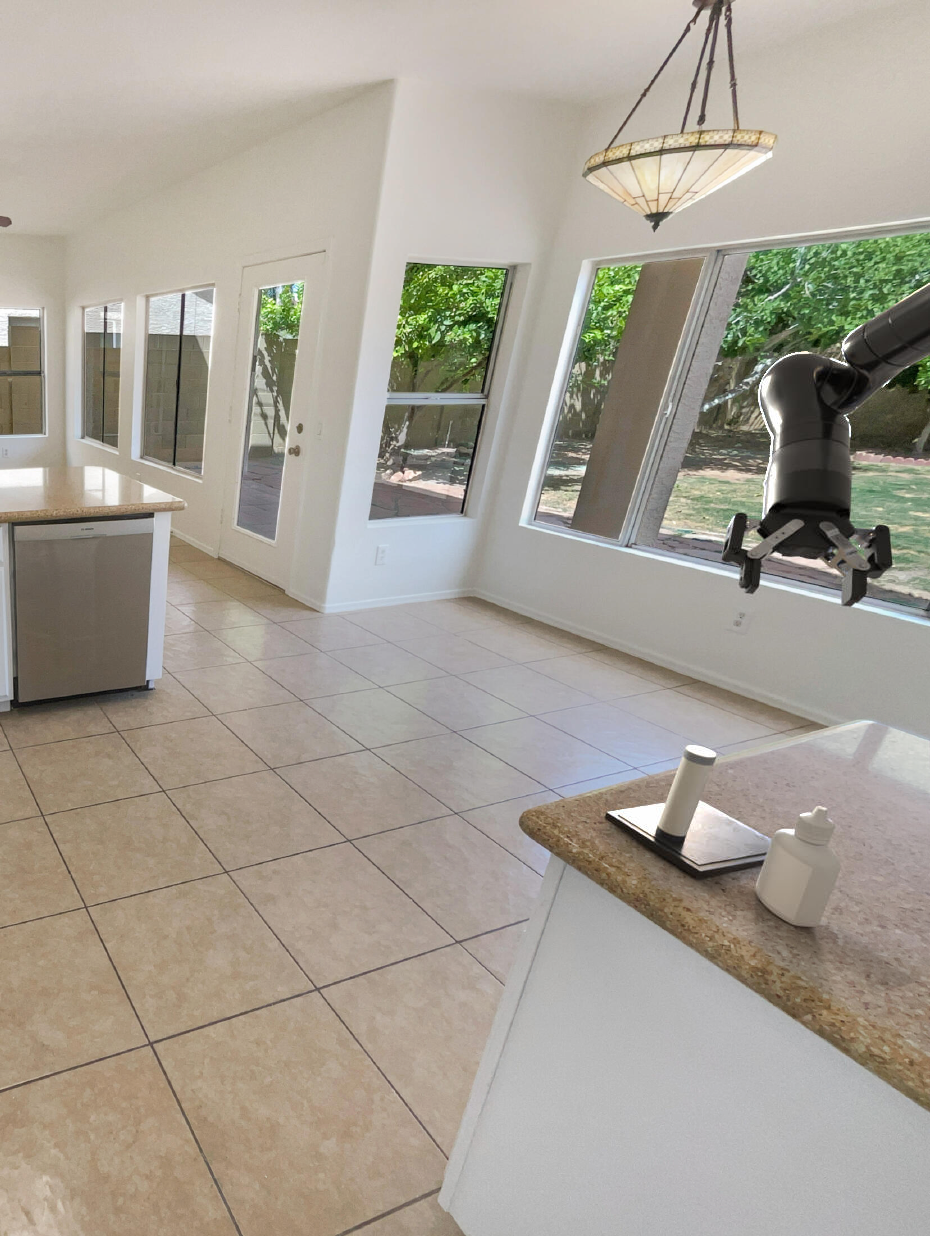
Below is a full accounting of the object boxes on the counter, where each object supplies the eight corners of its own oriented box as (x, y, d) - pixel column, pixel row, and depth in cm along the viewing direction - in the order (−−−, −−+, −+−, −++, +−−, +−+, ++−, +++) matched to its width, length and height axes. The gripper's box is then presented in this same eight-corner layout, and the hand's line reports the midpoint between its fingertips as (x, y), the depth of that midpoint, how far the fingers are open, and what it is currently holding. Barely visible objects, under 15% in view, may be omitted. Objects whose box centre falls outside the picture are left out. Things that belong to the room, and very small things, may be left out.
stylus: (667, 826, 81) (698, 743, 77) (690, 840, 79) (723, 755, 75) (649, 829, 80) (679, 746, 77) (672, 843, 78) (704, 758, 74)
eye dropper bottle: (757, 916, 69) (793, 814, 65) (752, 884, 73) (786, 787, 69) (819, 935, 67) (861, 830, 62) (810, 901, 71) (849, 801, 67)
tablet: (693, 804, 87) (696, 797, 87) (795, 861, 77) (798, 852, 77) (604, 818, 84) (606, 811, 84) (697, 879, 74) (700, 870, 74)
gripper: (744, 462, 87) (733, 570, 81) (906, 471, 80) (906, 590, 74) (721, 499, 93) (709, 602, 87) (870, 510, 86) (867, 623, 81)
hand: (800, 596), depth 81 cm, fingers open, 8 cm apart
